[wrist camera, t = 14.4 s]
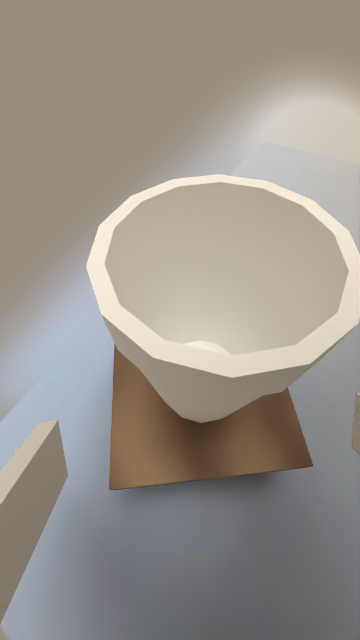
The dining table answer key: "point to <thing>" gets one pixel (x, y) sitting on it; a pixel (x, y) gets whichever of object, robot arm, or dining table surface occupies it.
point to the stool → (196, 437)
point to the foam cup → (223, 289)
